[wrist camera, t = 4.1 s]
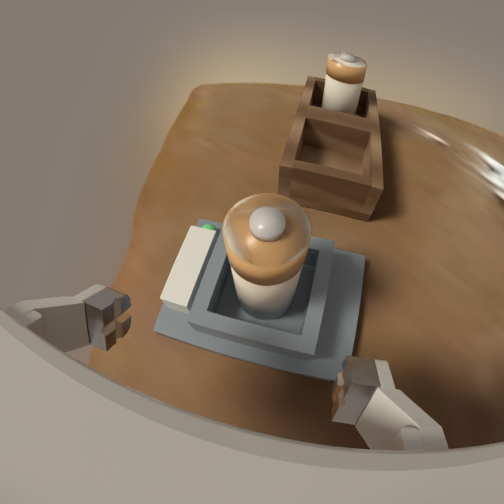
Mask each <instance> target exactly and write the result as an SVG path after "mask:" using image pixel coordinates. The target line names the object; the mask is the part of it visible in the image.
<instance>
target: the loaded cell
mask: <svg viewBox="0 0 504 504" xmlns="http://www.w3.org/2000/svg"><path fill="white" fill-rule="evenodd" d="M366 67H367V63H366V62H365V61H364V60H362V59H361V58H359V57H356V56H354V55H352V54H349V53H330V54H329V55H328V60H327V68H326V80H325V87H324V94H323V101H322V108H325V109H330V110H335V111H339V112H343V113H348V114H352V115H355V114H356V110H357V106H358V101H359V97H360V93H361V88H362V84H363V81H364V77H365V71H366Z"/></svg>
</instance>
